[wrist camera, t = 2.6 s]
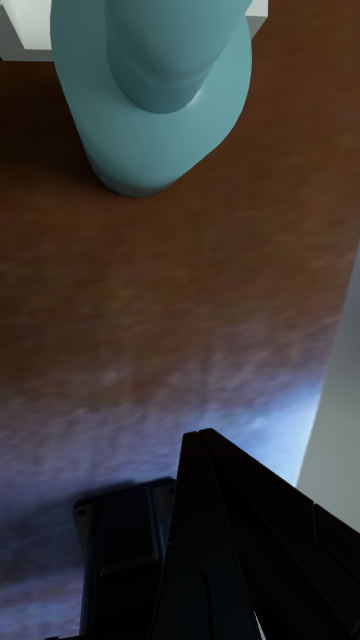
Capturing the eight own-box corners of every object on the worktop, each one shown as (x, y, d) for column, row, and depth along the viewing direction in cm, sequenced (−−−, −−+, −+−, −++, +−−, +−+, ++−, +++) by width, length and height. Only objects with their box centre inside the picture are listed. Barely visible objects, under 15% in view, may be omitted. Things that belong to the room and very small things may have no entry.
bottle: (187, 195, 14) (336, 121, 5) (93, 201, 13) (42, 126, 4) (180, 86, 13) (369, -334, 3) (75, 85, 12) (-75, -469, 2)
